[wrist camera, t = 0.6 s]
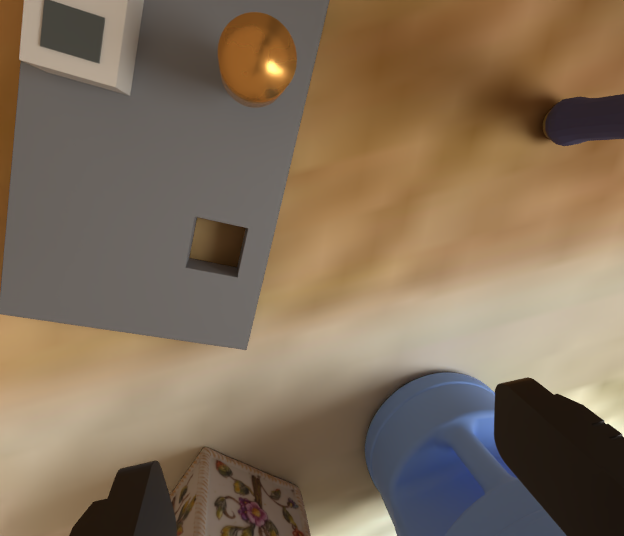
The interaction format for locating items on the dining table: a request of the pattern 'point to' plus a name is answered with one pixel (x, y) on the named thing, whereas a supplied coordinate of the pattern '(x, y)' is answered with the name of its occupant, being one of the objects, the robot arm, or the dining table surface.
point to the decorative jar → (235, 500)
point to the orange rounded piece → (256, 59)
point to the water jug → (448, 464)
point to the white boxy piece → (83, 40)
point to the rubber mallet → (585, 120)
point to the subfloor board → (152, 181)
